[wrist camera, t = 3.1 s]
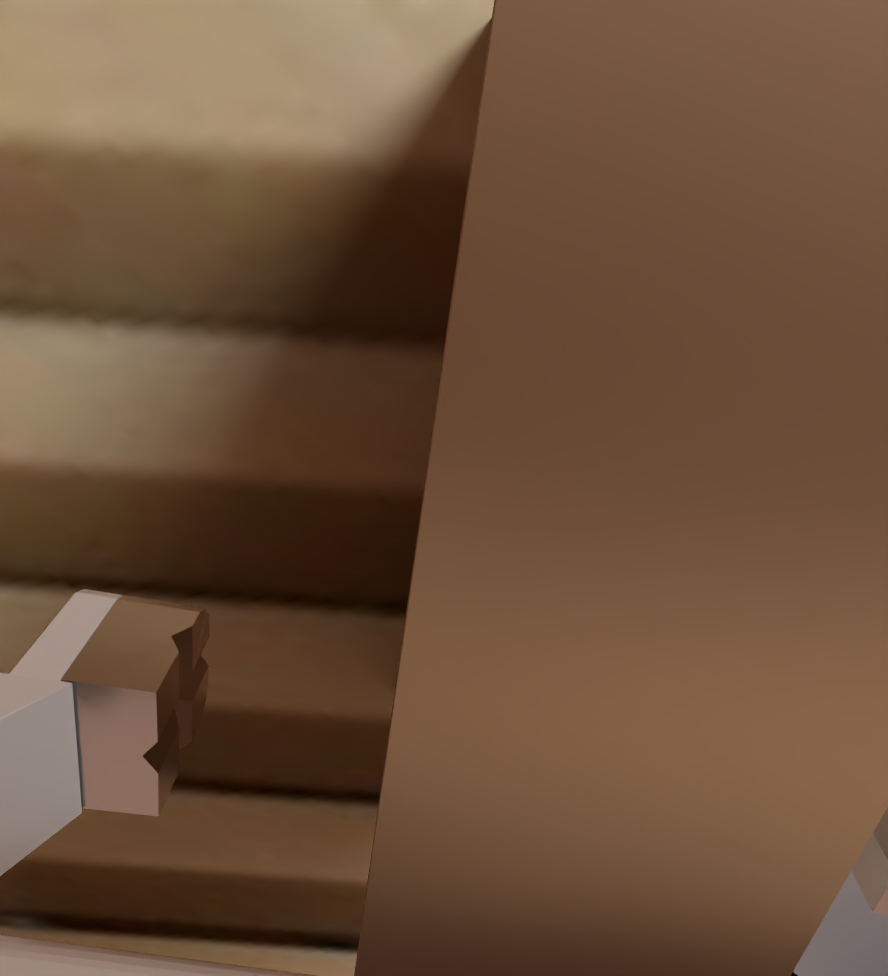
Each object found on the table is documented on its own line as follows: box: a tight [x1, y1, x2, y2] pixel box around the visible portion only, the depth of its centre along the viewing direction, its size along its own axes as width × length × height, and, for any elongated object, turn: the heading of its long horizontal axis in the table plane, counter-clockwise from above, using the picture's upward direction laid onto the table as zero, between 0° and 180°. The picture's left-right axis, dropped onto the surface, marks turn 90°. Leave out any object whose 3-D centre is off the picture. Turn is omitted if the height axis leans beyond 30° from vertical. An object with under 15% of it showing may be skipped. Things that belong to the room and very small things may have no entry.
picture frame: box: [354, 0, 888, 976], centre depth 11 cm, size 14×4×10 cm, turn 172°
